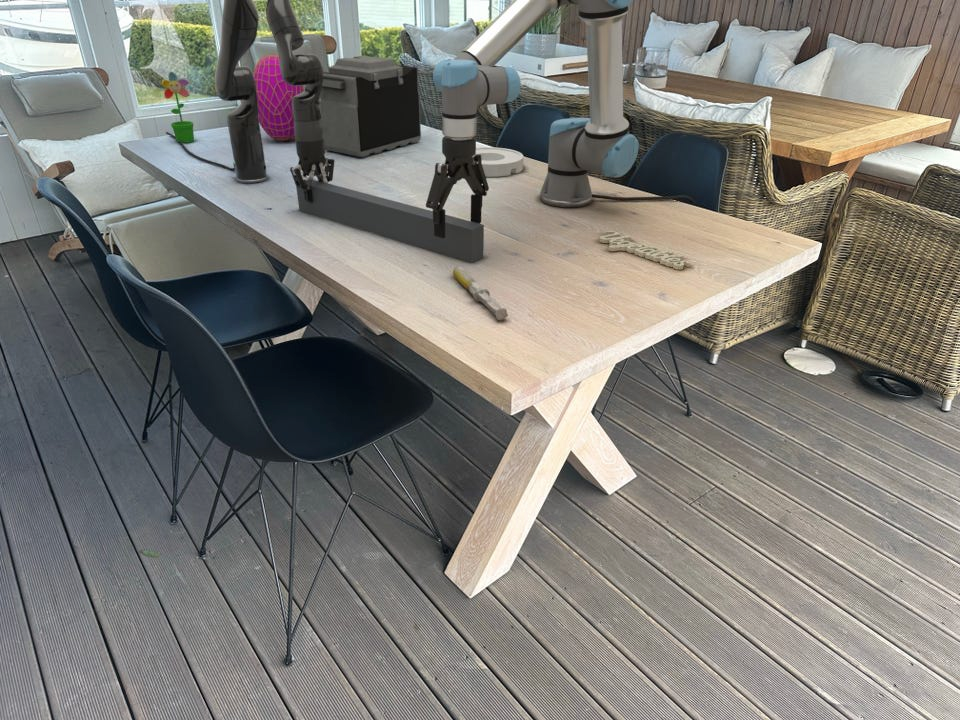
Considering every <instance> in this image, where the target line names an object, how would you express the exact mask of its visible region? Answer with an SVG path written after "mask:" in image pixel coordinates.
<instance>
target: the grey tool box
mask: <svg viewBox="0 0 960 720" xmlns="http://www.w3.org/2000/svg"><path fill="white" fill-rule="evenodd" d="M419 91H420V89H419V68H418V67H417V66H408V65H400V64H396V62H395V60H394V59H393V58H385V57H377V56H367V55H356V56H353V57H350V58H349V57H343V58H342V57H341V58H337V59H336V60H335V63H334V64H333V65H330V66H329V67H328V72H327V71H324V75H323V83H322V89H321V96H320V111H321V120H322V125H323V131H324V141H325V151H326V150H327V151H330V152H335V153H340V154H344V155H348V156H353V157H357V158H362V159H363V158H366V157H367V158H368V157H369V155H371V154H375V155H377V154H381V153H382V152H383V151H391V150H395V149H396V148H397V147H405V146H407V145H408V144H416V143H418V142H419V141H421V137H422V128H421V97H420V92H419Z"/></svg>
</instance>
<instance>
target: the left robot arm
mask: <svg viewBox="0 0 960 720" xmlns="http://www.w3.org/2000/svg"><path fill="white" fill-rule="evenodd" d="M265 17H266V21H267V25H268V27H269V29H270V32H271V34H272V36H273V39H274V42H275V45H276V50H277V55H278V56H279V65H280V72H281V76H282V78H283V79H284V81H285V82H286V83H287V84H289V85H291V86H299V85H303V86H304V91H303V92H302V93H300V94H298V95H296V96H294V97H293V98H292V109H293V117H294V134H295V138H294V141H295V149H296V156H297V157H298V163H297V165H295V166H290V168H289V171H290V174H291V177H292V179H293V182H294V184H295V186H296V187H297V188H301V189H303V192H304V199H305V201H306V202H307V203H313V197H312V190H311V184H312V181H313V180H314V178H315V177H316V179H317V181H321V182H324V183H328V184H329V183H330V182H333V180H334V171H335V163H336V162H335V159H334V158H330V157H326V156H325V155H326V152H327V151H326V149H325V141H324V131H323V125H322V120H321V111H320V96H321V89H322V83H323V75H324V72H325V71H324V66H323V62H322V60H321V59H320V57H318V56H317V55H316V54H314V53H304V54H294V51H296V50H298V49H300V48H301V47H302V46H303V45H304V43H305V37H304V35H303V32H302V29H301V26H300V25H299V22H298V19H297V16H296V13H295V12H294V9H293V6H292V3H291V0H266V6H265ZM259 21H260V14H259V10H258V8H257V6H256V5H255V2H254V0H223V6H222V14H221V28H220V29H221V30H220V32H221V33H220V44H219V52H218V57H217V61H216V62H217V63H216V66H215V72H214V88H215V89H214V90H215V92H216V94H217V96H218V97H219V99H220V100H222V101H223V102H236V101H241V102H240V103H239V105H238V107H237V108H235V109H233V110H231V111H230V112H228V113H227V114H226V122H227V127H228V133H229V140H230V146H231V152H232V157H233V161H232V164H233V167H229V166H227V165H225V164H223V163H220V162H216V161H212V160H209V159H206V158H203V157H200V156H199V155H197V154H195V153H193V152H191V150H189V149H188V148H187V147H186V146H185V145H184V143H182V142H181V141H178V142H177V143H179V145H180V146H181V147H182V148H183V149H184V151H186V153H188V154H189V155H190V156H192V157H194V158H196V159H198V160H200V161H202V162H206V163H207V164H211V165H214V166H218V167H222V168H224V169H226V170H228V171H233V172H234V171H235V174H236V181H237V183H238V182H239V183H242V184H255V183H256V184H257V183H262V182H265V181H267V180H268V174H267V173H268V172H267V164H266V158H265V152H264V146H263V139H262V138H263V137H262V132H261V125H260V123H259V111H258V102H257V91H256V83H255V78H254V75H253V71H252V69H251V68H250V67H248V66H245V65H240V66H237V65H238V63H239V61H240V60H241V59H242V58H243V57H244V56H245V54H247V53H248V51H249V50H250V48H251V47H252V46H253V45H254V44H255V41H256V39H257V35H258V29H259ZM165 134H166V135H168V136H170V137H172V138H174V139H175V140H176V137H175V134H173V133H171V132H169V131H166V132H165ZM306 184H307V185H306Z"/></svg>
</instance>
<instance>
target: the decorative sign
mask: <svg viewBox="0 0 960 720" xmlns="http://www.w3.org/2000/svg"><path fill="white" fill-rule="evenodd" d="M599 243H602V244H608V245H609V246H608V252H619V251H623V252H625V251H626V252H627V253H630V254H634V255H635V256H638V257H640V258H645V259H646V260H651V261H653V262H659V264H661V265H665V266H666V267H671V268H672V269H674V270H683V269H684V267H686V268H689V267H690V261H689V260H685V259H684V258H685V257H684V254H675V253H674V251H672V250H664V251H659V250H658V247H655V246H654V245H648V244H646V243H643V244H638V243H636V242H632V236H631V235H622V236H620V232H618V231H614V230H606V234H605V235H601V236H600V237H599Z"/></svg>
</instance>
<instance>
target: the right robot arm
mask: <svg viewBox="0 0 960 720" xmlns="http://www.w3.org/2000/svg"><path fill="white" fill-rule="evenodd" d="M633 2H634V0H512V1H511V2H510V3H509V4H508V5H507V6H506V8H505V7H504V9H503V10H502V11H501V12H500V13H499V14H498V15H497V16H496V17H495V18H494V19H493V20H492V21H491V22H490V23H489V24H488V25H487V26H486V27H485V28H484V29H483V30H481V32H480V33H479V34H478V35H477V36H476V37H474V39H473V40H472V41H471V42H470V43H469V44H468V45H467V46H466V47H465V48H464V49H462V50H461V52H460V53H459V54H458V55H456V56H455V57H454V58H453V59H450V58H448V59H443V60H440V61H439V62H437V64H436V65H435V66H434V69H433V73H432V80H433V83H434V86H435V88H436V89H437V90H438V91H439V92H441V116H442V117H441V118H442V120H441V122H442V123H441V124H442V127H441V131H442V133H441V134H442V135H443V137H442V138H441V153H442V155H443V156H444V157H445V160H444V163H439V162H436V163H435V165H434V175H433V178H432V182H431V185H430V189H429V192H428V196H427V199H426V203H425V207H426V209H431V211H433V223H434V236H437V237H440V238H445V215H446V209H445V208H444V207H445V204H446V202H447V201H448V198H449V196H450V194H451V191H452V189H453V187H454V185H456V184H457V183H458V182H459V181H461V180H462V179H463V180H465V182H466V184H467V185H468V186H469V188H470V190H471V191H472V193H473V194H470V221H471V222H475V223H479V224H482V213H483V212H482V208H483V197H486V196H487V195H488V191H490V190H489V189H490V187H489V184H488V180H487V177H486V176H485V173H484V170H483V166H482V160H481V155H480V154H475V153H476V148H477V138H476V137H475V136H476V135H477V124H478V123H477V115H478V114H477V112H478V107H481V106H482V107H483V106H490V105H500V104H501V105H504V104H507V103H510V102H514V101H515V100H516V99H517V98H518V96H519V95H520V93H521V82H522V81H521V78H520V74H519V73H518V71H517V69H515V68H514V67H512V66H503V65H501V66H496V65H497V64H498V63H499V62H500V61H501V60H502V59H503V58H504V57H505V56H506V54H508V53H509V52H510V51H511V50H512V49H513V48H514V47H515V46H516V45H517V44H518V43H519V42H520V41H521V40H522V39H523V38H524V37H525V36H526V35H527V34H528V33H529V32H530V31H531V30H532V29H533V28H534V27H535V26H536V25H537V24H538V23H539V22H540V21H541V20H542V19H543V18H544V17H545V16H546V15H552V14H554V13H555V12H557V10H558V9H559V8H561V7H563V6H566V5H578V18H579V19H580V20H581V21H583V23H584V24H585V31H586V32H585V33H586V35H585V37H586V57H587V58H586V59H587V77H588V79H587V80H588V81H587V82H588V102H589V117H570V118H568V117H567V118H562V119H556V120H554V121H553V122H552V123H551V125H550V129H549V130H550V131H549V135H548V156H547V158H548V159H547V173H546V176H545V178H544V181H543V184H542V187H541V189H540V192H539V200H540V202H542V203H543V204H546V205H549V206H553V207H558V208H559V207H560V208H580V207H584V206H588V205H589V204H591V203H592V199H602V200H609V201H622V202H623V201H624V202H625V201H626V202H627V201H629V202H630V201H632V202H633V201H673V200H687V201H689V202H690V203H691V204H696V201H695V200H694V199H693V198H692V197H690V196H689V195H684V194H681V195H672V196H671V195H670V196H610V195H604V194H594V193H592V188H591V184H590V179H589V172H592V173H595V174H597V175H602V176H604V177H610V178H620V177H623V176H624V175H626V174H627V173H628V172H629V171H630V170H631V169H632V167H633V165H634V164H635V162H636V159H637V158H638V154H639V146H640V145H639V144H640V143H639V140H638V138H637V137H636V136H635V135H634V134H632V133H630V122H629V120H627V118H625V117H624V93H623V92H624V87H623V86H624V82H623V81H624V80H623V79H624V78H623V18H624V17H625V16H626V15H627V13H628V12H629V6H630V5H631V4H632V3H633Z"/></svg>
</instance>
